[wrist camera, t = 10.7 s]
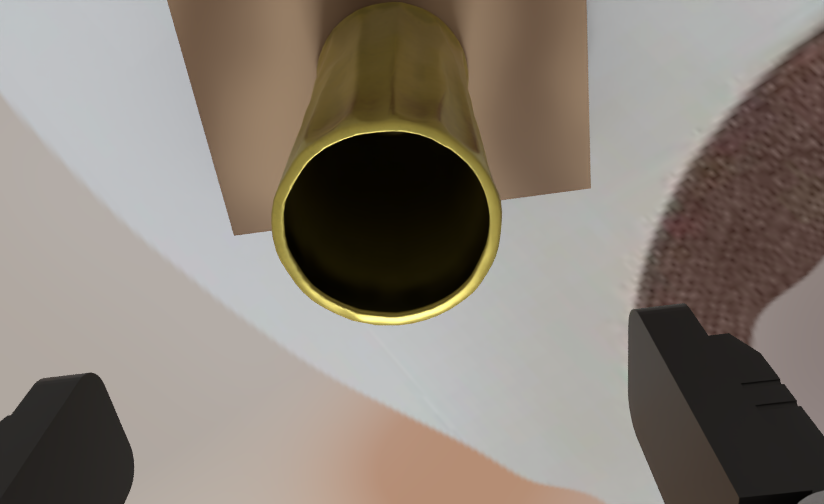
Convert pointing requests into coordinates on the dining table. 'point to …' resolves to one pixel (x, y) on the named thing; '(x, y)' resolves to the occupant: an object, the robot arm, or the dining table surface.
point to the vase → (388, 174)
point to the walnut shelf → (297, 70)
